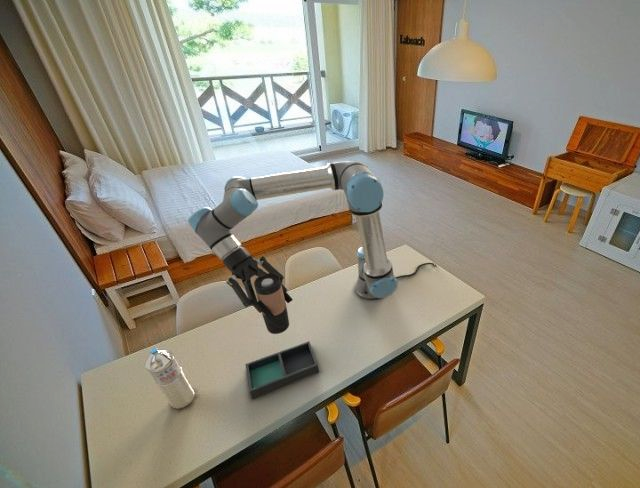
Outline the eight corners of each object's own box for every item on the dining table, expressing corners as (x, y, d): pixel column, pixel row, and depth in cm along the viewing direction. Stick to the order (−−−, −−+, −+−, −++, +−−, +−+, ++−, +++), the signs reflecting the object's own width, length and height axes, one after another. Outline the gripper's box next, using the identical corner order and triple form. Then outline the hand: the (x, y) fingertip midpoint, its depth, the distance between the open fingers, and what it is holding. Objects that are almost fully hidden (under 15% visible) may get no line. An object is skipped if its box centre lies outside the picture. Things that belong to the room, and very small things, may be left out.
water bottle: (169, 413, 100) (136, 364, 86) (173, 394, 105) (141, 344, 92) (194, 405, 103) (165, 356, 89) (196, 386, 108) (169, 337, 94)
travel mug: (283, 336, 104) (271, 291, 93) (261, 332, 105) (248, 286, 94) (294, 319, 110) (284, 274, 99) (274, 315, 111) (262, 271, 100)
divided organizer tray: (310, 348, 122) (309, 341, 120) (319, 372, 114) (317, 364, 112) (248, 371, 113) (245, 364, 111) (252, 399, 105) (249, 391, 103)
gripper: (254, 242, 108) (297, 293, 111) (198, 275, 93) (251, 334, 96) (262, 233, 103) (308, 287, 106) (205, 267, 88) (261, 328, 91)
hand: (281, 309), depth 101 cm, fingers closed on travel mug, 7 cm apart
